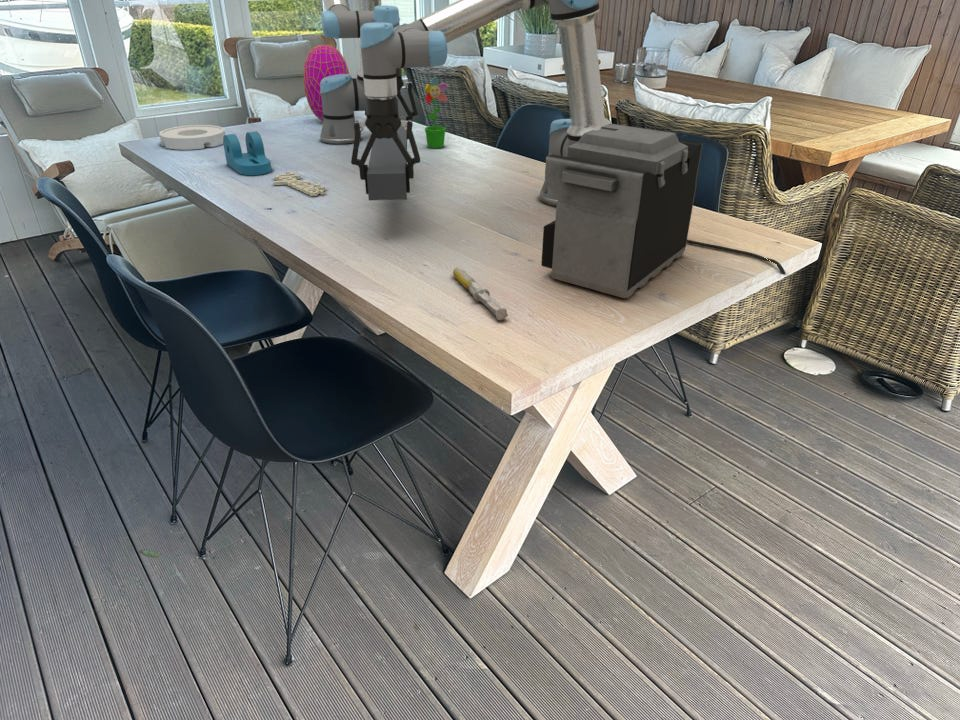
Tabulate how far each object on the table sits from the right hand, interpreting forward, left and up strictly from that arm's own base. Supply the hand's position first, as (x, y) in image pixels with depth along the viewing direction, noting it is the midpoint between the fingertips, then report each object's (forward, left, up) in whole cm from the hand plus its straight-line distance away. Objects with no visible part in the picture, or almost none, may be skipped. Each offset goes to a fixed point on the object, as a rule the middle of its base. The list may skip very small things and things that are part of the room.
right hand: (388, 191), depth 171 cm
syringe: (-36, +24, -11) cm, 45 cm away
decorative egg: (+95, -107, -11) cm, 144 cm away
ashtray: (+118, -52, -11) cm, 130 cm away
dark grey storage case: (-58, -6, -11) cm, 59 cm away
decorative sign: (+48, -24, -11) cm, 55 cm away
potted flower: (+34, -89, -11) cm, 96 cm away
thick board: (+15, -25, -1) cm, 29 cm away
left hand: (+29, -50, 0) cm, 58 cm away
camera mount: (+75, -33, -11) cm, 82 cm away
